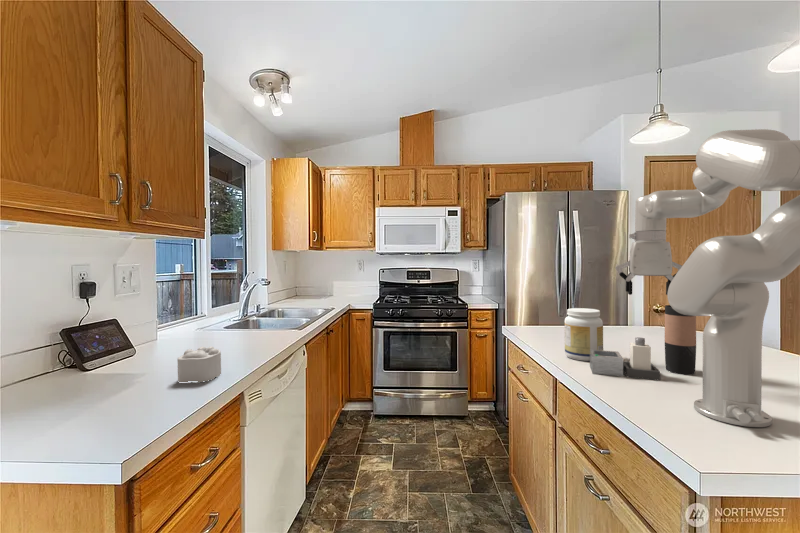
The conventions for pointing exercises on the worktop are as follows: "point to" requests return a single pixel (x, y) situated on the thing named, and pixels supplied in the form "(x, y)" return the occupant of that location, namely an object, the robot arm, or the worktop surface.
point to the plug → (640, 354)
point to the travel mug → (680, 342)
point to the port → (606, 362)
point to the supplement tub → (583, 333)
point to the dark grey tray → (641, 372)
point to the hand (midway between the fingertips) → (648, 294)
